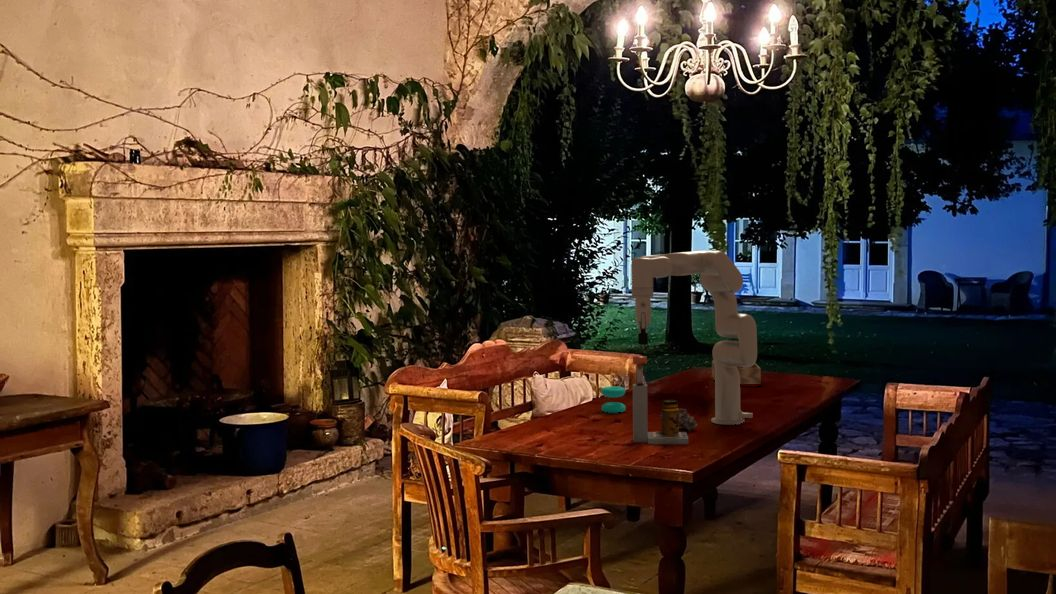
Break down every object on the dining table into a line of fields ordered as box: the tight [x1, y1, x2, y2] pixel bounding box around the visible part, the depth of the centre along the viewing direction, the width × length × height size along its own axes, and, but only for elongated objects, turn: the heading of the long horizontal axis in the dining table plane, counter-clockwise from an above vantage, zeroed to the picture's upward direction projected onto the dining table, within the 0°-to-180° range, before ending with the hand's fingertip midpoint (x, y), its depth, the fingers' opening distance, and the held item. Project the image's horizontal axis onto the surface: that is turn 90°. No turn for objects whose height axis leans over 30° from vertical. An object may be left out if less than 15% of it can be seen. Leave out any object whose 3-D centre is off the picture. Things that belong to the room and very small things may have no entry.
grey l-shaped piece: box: [632, 383, 690, 445], centre depth 371 cm, size 19×12×20 cm, turn 85°
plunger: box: [632, 355, 648, 386], centre depth 370 cm, size 5×5×13 cm
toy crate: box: [711, 360, 762, 384], centre depth 508 cm, size 20×29×9 cm
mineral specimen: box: [659, 407, 698, 432], centre depth 391 cm, size 12×9×10 cm
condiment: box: [655, 399, 681, 436], centre depth 371 cm, size 7×8×12 cm
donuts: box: [600, 385, 627, 414], centre depth 432 cm, size 10×10×10 cm
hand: (643, 344), depth 370 cm, fingers closed
